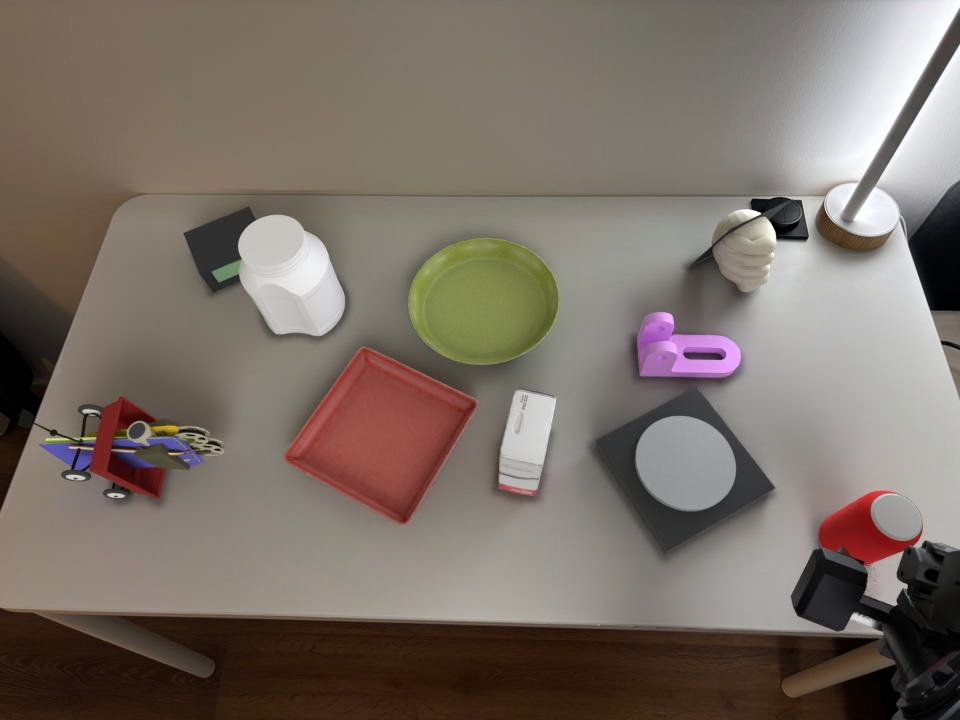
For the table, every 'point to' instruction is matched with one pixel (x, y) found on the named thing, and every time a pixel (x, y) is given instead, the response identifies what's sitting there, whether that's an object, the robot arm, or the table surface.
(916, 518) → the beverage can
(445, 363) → the table surface
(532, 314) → the saucer
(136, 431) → the toy cart
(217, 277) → the scale display
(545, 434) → the ink box
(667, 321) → the bracket
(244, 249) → the jar
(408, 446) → the plant saucer
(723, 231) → the decorative object
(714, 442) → the scale
